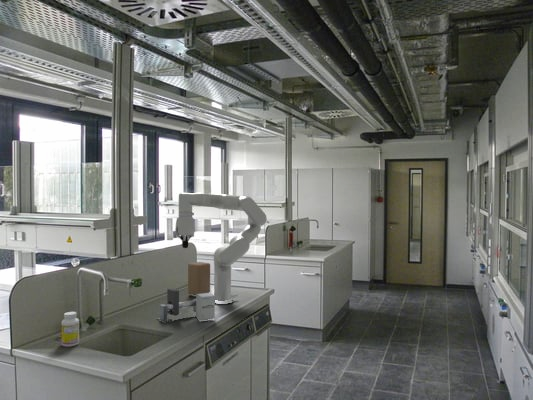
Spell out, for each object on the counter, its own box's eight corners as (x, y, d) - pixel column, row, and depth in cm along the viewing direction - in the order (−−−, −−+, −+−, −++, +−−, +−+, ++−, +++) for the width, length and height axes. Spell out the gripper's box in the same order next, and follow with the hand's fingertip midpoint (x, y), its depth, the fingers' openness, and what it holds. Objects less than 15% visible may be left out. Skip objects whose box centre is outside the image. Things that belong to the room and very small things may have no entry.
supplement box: (200, 323, 211) (200, 296, 211) (195, 319, 218) (195, 293, 217) (215, 321, 214) (215, 295, 214) (209, 317, 221) (210, 292, 221)
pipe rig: (195, 311, 231) (195, 297, 231) (203, 315, 225) (203, 299, 225) (156, 319, 216) (156, 303, 216) (164, 322, 210) (164, 306, 210)
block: (210, 295, 268) (210, 263, 268) (198, 298, 260) (198, 265, 260) (199, 293, 274) (199, 261, 274) (187, 296, 266) (187, 263, 266)
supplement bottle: (64, 341, 182) (65, 311, 182) (81, 341, 183) (81, 310, 183) (58, 347, 176) (58, 315, 176) (75, 347, 176) (75, 315, 176)
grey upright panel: (171, 312, 221) (171, 288, 221) (178, 315, 216) (179, 290, 216) (167, 312, 220) (167, 288, 220) (174, 316, 214) (174, 291, 214)
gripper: (193, 214, 252) (193, 246, 252) (170, 215, 242) (169, 248, 242) (200, 215, 246) (200, 247, 246) (176, 215, 237) (176, 249, 237)
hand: (185, 247), depth 244 cm, fingers closed
